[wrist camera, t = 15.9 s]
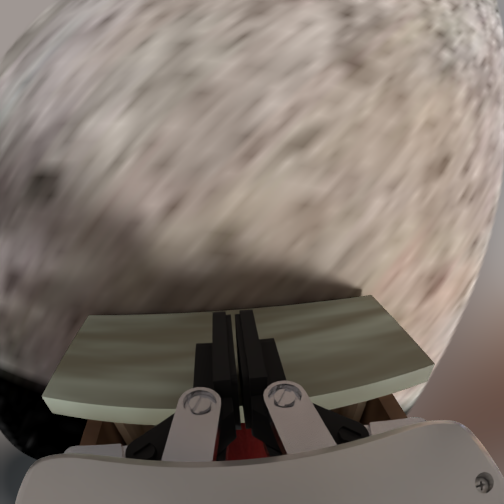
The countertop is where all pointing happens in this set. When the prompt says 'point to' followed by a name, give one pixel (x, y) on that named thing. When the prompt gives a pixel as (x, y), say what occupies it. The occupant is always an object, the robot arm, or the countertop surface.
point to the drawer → (200, 331)
